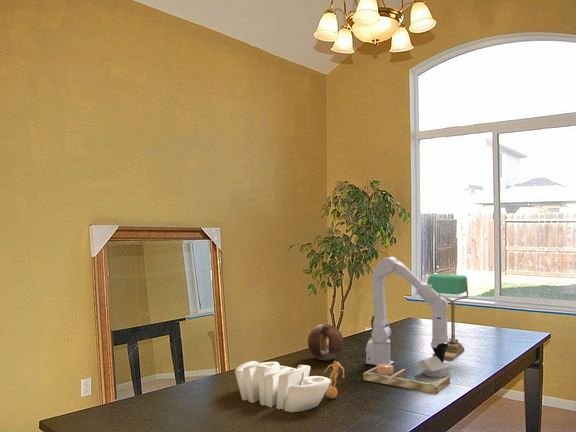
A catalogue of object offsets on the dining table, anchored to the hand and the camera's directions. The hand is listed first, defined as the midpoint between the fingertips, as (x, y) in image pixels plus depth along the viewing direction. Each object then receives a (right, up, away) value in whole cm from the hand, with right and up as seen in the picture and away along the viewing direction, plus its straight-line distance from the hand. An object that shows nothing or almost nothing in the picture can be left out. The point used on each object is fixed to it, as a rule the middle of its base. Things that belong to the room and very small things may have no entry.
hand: (439, 362), depth 210 cm
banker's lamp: (+10, -3, +24) cm, 26 cm away
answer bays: (-16, -3, -15) cm, 22 cm away
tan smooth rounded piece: (-24, -3, -10) cm, 26 cm away
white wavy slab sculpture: (-63, -3, -34) cm, 72 cm away
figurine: (-45, -3, -33) cm, 56 cm away
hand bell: (-21, -4, +31) cm, 38 cm away
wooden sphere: (-44, -3, +16) cm, 47 cm away
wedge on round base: (-4, -3, -6) cm, 8 cm away
